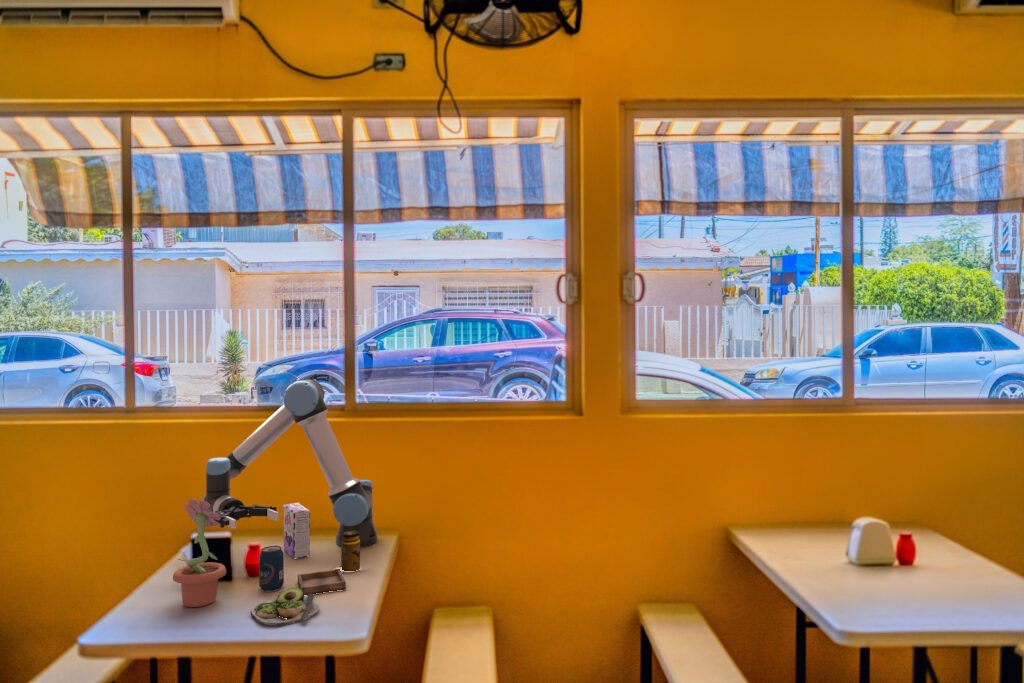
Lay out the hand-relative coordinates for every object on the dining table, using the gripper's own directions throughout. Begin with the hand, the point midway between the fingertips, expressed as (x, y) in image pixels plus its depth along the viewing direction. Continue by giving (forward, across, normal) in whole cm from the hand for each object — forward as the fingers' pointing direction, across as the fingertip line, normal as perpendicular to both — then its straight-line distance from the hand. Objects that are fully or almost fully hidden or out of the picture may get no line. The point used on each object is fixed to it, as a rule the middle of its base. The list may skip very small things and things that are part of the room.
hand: (256, 520), depth 205 cm
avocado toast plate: (+30, +5, -19) cm, 36 cm away
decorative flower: (+6, +19, -19) cm, 27 cm away
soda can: (+10, 0, -19) cm, 21 cm away
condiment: (+12, -26, -19) cm, 34 cm away
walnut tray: (+19, -12, -18) cm, 29 cm away
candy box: (-17, -22, -19) cm, 34 cm away
